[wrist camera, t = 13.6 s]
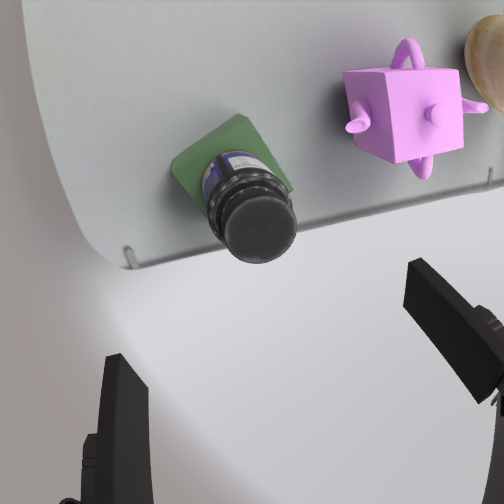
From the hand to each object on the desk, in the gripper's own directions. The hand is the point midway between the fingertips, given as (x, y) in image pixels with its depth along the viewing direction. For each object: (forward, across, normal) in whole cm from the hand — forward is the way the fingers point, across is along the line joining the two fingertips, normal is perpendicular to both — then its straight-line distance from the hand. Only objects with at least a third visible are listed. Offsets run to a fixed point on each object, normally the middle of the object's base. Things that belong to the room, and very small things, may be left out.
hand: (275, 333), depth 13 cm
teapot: (+24, +21, +4) cm, 32 cm away
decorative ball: (+24, +41, +10) cm, 48 cm away
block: (+24, +2, 0) cm, 24 cm away
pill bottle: (+19, +1, 0) cm, 19 cm away
